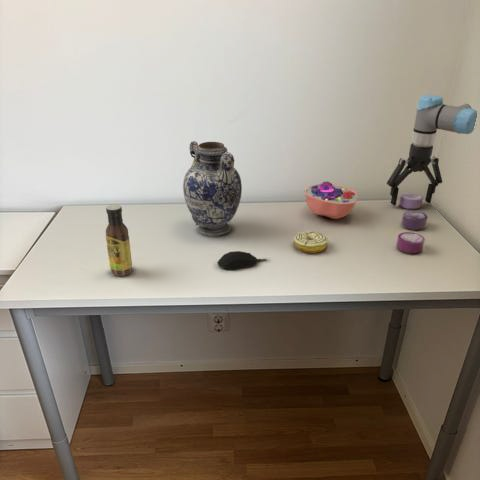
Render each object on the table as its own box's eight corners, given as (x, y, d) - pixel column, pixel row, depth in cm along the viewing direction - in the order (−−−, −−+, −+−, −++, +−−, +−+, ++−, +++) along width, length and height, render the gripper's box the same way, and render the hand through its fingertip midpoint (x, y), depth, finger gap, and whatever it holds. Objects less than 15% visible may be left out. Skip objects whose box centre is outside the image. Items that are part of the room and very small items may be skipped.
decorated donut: (317, 237, 167) (318, 227, 165) (333, 251, 158) (334, 240, 156) (288, 242, 164) (288, 231, 162) (302, 256, 155) (303, 245, 153)
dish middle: (418, 221, 178) (420, 210, 176) (429, 230, 172) (432, 219, 169) (396, 222, 177) (398, 211, 175) (407, 232, 170) (409, 221, 168)
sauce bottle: (106, 272, 147) (95, 206, 136) (123, 264, 151) (114, 200, 140) (120, 279, 144) (110, 212, 133) (137, 271, 148) (129, 205, 136)
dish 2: (415, 242, 164) (417, 231, 161) (427, 254, 157) (429, 242, 155) (391, 244, 162) (393, 233, 160) (402, 256, 156) (405, 244, 154)
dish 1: (414, 201, 193) (416, 191, 191) (424, 209, 186) (427, 199, 184) (394, 203, 192) (396, 192, 189) (404, 211, 185) (406, 200, 183)
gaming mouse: (269, 265, 151) (269, 252, 149) (220, 271, 148) (220, 259, 145) (262, 255, 156) (263, 243, 154) (215, 262, 153) (215, 249, 150)
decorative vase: (172, 227, 173) (166, 142, 157) (215, 213, 183) (213, 132, 167) (212, 249, 160) (209, 158, 144) (255, 232, 170) (257, 146, 154)
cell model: (327, 230, 171) (330, 198, 165) (293, 210, 186) (295, 179, 179) (366, 220, 178) (371, 189, 172) (331, 202, 192) (334, 172, 186)
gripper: (450, 139, 181) (436, 197, 193) (383, 143, 178) (374, 201, 189) (461, 145, 175) (447, 204, 187) (392, 149, 171) (382, 209, 183)
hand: (410, 203), depth 188 cm, fingers open, 13 cm apart
